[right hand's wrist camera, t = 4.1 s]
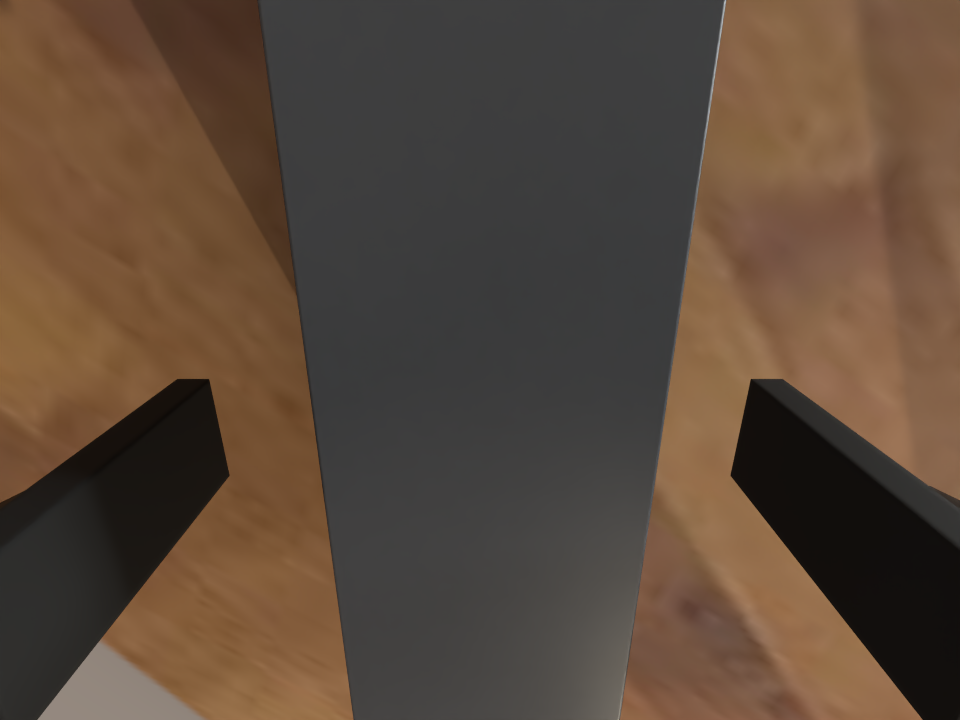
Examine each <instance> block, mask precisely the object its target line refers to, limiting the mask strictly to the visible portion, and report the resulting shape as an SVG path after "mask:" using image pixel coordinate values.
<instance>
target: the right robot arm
mask: <svg viewBox="0 0 960 720" xmlns="http://www.w3.org/2000/svg"><path fill="white" fill-rule="evenodd" d="M228 477H229V471H228V466H227V462H226V457H225V452H224V447H223V443H222V438H221V433H220V428H219V424H218V419H217V414H216V410H215V405H214V400H213V395H212V391H211V386H210V381H209V379H177V380H176V381H174V382H173V383H171V384H170V385H169V386H167V387H166V388H165V389H163V390H162V391H161V392H159V393H158V394H156V395H155V396H154V397H152V398H151V399H150V400H148V401H147V402H146V403H144V404H143V405H141V406H140V407H139V408H137V409H136V410H135V411H133V412H132V413H131V414H129V415H128V416H126V417H125V418H124V419H122V420H121V421H120V422H118V423H117V424H115V425H114V426H113V427H111V428H110V429H109V430H107V431H106V432H105V433H103V434H102V435H100V436H99V437H98V438H96V439H95V440H94V441H92V442H91V443H90V444H88V445H87V446H85V447H84V448H83V449H81V450H80V451H79V452H77V453H76V454H75V455H73V456H72V457H70V458H69V459H68V460H66V461H65V462H64V463H62V464H61V465H60V466H58V467H57V468H55V469H54V470H53V471H51V472H50V473H49V474H47V475H46V476H45V477H43V478H42V479H40V480H39V481H38V482H36V483H35V484H34V485H32V486H31V487H30V488H28V489H27V490H25V491H23V492H21V493H19V494H17V495H15V496H13V497H11V498H9V499H7V500H5V501H3V502H1V503H0V720H37V719H38V718H39V717H40V716H41V714H42V713H43V712H44V710H45V709H46V708H47V707H48V705H49V704H50V703H51V702H52V700H53V699H54V698H55V697H56V695H57V694H58V693H59V691H60V690H61V689H62V688H63V686H64V685H65V684H66V683H67V681H68V680H69V679H70V677H71V676H72V675H73V674H74V672H75V671H76V670H77V669H78V667H79V666H80V665H81V663H82V662H83V661H84V660H85V658H86V657H87V656H88V655H89V653H90V652H91V651H92V650H93V648H94V647H95V646H96V644H97V643H98V642H99V641H100V639H101V638H102V637H103V636H104V634H105V633H106V632H107V630H108V629H109V628H110V627H111V625H112V624H113V623H114V622H115V620H116V619H117V618H118V617H119V615H120V614H121V613H122V611H123V610H124V609H125V608H126V606H127V605H128V604H129V603H130V601H131V600H132V599H133V597H134V596H135V595H136V594H137V592H138V591H139V590H140V589H141V587H142V586H143V585H144V583H145V582H146V581H147V580H148V578H149V577H150V576H151V575H152V573H153V572H154V571H155V570H156V568H157V567H158V566H159V564H160V563H161V562H162V561H163V559H164V558H165V557H166V556H167V554H168V553H169V552H170V550H171V549H172V548H173V547H174V545H175V544H176V543H177V542H178V540H179V539H180V538H181V537H182V535H183V534H184V533H185V531H186V530H187V529H188V528H189V526H190V525H191V524H192V523H193V521H194V520H195V519H196V517H197V516H198V515H199V514H200V512H201V511H202V510H203V509H204V507H205V506H206V505H207V503H208V502H209V501H210V500H211V498H212V497H213V496H214V495H215V493H216V492H217V491H218V490H219V488H220V487H221V486H222V484H223V483H224V482H225V481H226V479H227V478H228ZM731 477H732V478H733V479H734V481H735V482H736V483H737V484H738V486H739V487H740V488H741V490H742V491H743V492H744V493H745V495H746V496H747V497H748V498H749V500H750V501H751V502H752V503H753V505H754V506H755V507H756V509H757V510H758V511H759V512H760V514H761V515H762V516H763V517H764V519H765V520H766V521H767V523H768V524H769V525H770V526H771V528H772V529H773V530H774V531H775V533H776V534H777V535H778V537H779V538H780V539H781V540H782V542H783V543H784V544H785V545H786V547H787V548H788V549H789V550H790V552H791V553H792V554H793V556H794V557H795V558H796V559H797V561H798V562H799V563H800V564H801V566H802V567H803V568H804V570H805V571H806V572H807V573H808V575H809V576H810V577H811V578H812V580H813V581H814V582H815V583H816V585H817V586H818V587H819V589H820V590H821V591H822V592H823V594H824V595H825V596H826V597H827V599H828V600H829V601H830V603H831V604H832V605H833V606H834V608H835V609H836V610H837V611H838V613H839V614H840V615H841V617H842V618H843V619H844V620H845V622H846V623H847V624H848V625H849V627H850V628H851V629H852V630H853V632H854V633H855V634H856V636H857V637H858V638H859V639H860V641H861V642H862V643H863V644H864V646H865V647H866V648H867V650H868V651H869V652H870V653H871V655H872V656H873V657H874V658H875V660H876V661H877V662H878V663H879V665H880V666H881V667H882V669H883V670H884V671H885V672H886V674H887V675H888V676H889V677H890V679H891V680H892V681H893V683H894V684H895V685H896V686H897V688H898V689H899V690H900V691H901V693H902V694H903V695H904V697H905V698H906V699H907V700H908V702H909V703H910V704H911V705H912V707H913V708H914V709H915V710H916V712H917V713H918V714H919V716H920V717H921V718H922V719H923V720H960V500H958V499H956V498H954V497H951V496H949V495H947V494H945V493H943V492H941V491H939V490H937V489H935V488H933V487H931V486H928V485H926V484H925V483H924V482H922V481H921V480H920V479H918V478H917V477H915V476H914V475H913V474H911V473H910V472H909V471H907V470H906V469H905V468H903V467H902V466H900V465H899V464H898V463H896V462H895V461H894V460H892V459H891V458H890V457H888V456H887V455H885V454H884V453H883V452H881V451H880V450H879V449H877V448H876V447H875V446H873V445H872V444H870V443H869V442H868V441H866V440H865V439H864V438H862V437H861V436H860V435H858V434H857V433H855V432H854V431H853V430H851V429H850V428H849V427H847V426H846V425H845V424H843V423H842V422H840V421H839V420H838V419H836V418H835V417H834V416H832V415H831V414H829V413H828V412H827V411H825V410H824V409H823V408H821V407H820V406H819V405H817V404H816V403H814V402H813V401H812V400H810V399H809V398H808V397H806V396H805V395H804V394H802V393H801V392H799V391H798V390H797V389H795V388H794V387H793V386H791V385H790V384H789V383H787V382H786V381H784V380H783V379H751V381H750V386H749V391H748V395H747V400H746V405H745V410H744V414H743V419H742V424H741V428H740V433H739V438H738V443H737V447H736V452H735V457H734V462H733V466H732V471H731Z"/></svg>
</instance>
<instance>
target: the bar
mask: <svg viewBox="0 0 960 720" xmlns="http://www.w3.org/2000/svg"><path fill="white" fill-rule="evenodd" d="M257 1H258V8H259V16H260V23H261V31H262V38H263V46H264V53H265V60H266V68H267V75H268V83H269V90H270V98H271V105H272V113H273V120H274V128H275V135H276V143H277V150H278V158H279V165H280V173H281V180H282V187H283V195H284V202H285V210H286V217H287V225H288V232H289V240H290V247H291V255H292V262H293V270H294V277H295V285H296V292H297V300H298V307H299V315H300V322H301V329H302V337H303V344H304V352H305V359H306V367H307V374H308V382H309V389H310V397H311V404H312V412H313V419H314V427H315V434H316V442H317V449H318V457H319V464H320V471H321V479H322V486H323V494H324V501H325V509H326V516H327V524H328V531H329V539H330V546H331V554H332V561H333V569H334V576H335V584H336V591H337V598H338V606H339V613H340V621H341V628H342V636H343V643H344V651H345V658H346V666H347V673H348V681H349V688H350V696H351V703H352V711H353V718H354V720H620V714H621V708H622V701H623V694H624V687H625V681H626V674H627V667H628V660H629V654H630V647H631V640H632V633H633V627H634V620H635V613H636V606H637V600H638V593H639V586H640V579H641V573H642V566H643V559H644V552H645V546H646V539H647V532H648V525H649V519H650V512H651V505H652V498H653V491H654V485H655V478H656V471H657V464H658V458H659V451H660V444H661V437H662V431H663V424H664V417H665V410H666V404H667V397H668V390H669V383H670V377H671V370H672V363H673V356H674V350H675V343H676V336H677V329H678V323H679V316H680V309H681V302H682V296H683V289H684V282H685V275H686V269H687V262H688V255H689V248H690V241H691V235H692V228H693V221H694V214H695V208H696V201H697V194H698V187H699V181H700V174H701V167H702V160H703V154H704V147H705V140H706V133H707V127H708V120H709V113H710V106H711V100H712V93H713V86H714V79H715V73H716V66H717V59H718V52H719V46H720V39H721V32H722V25H723V19H724V12H725V5H726V0H257Z"/></svg>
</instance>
